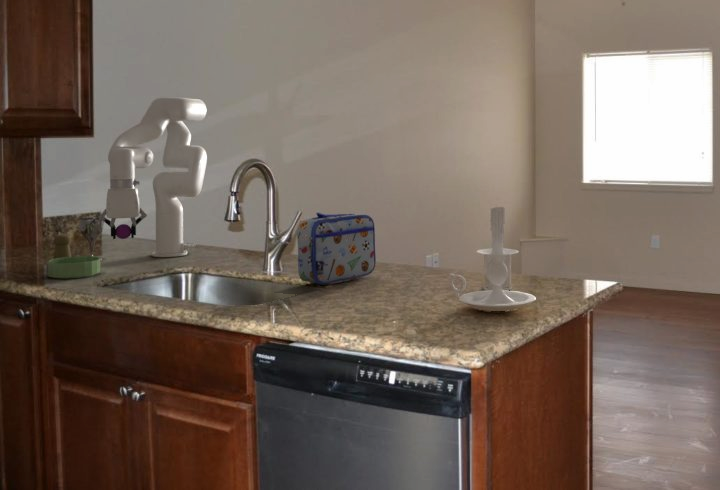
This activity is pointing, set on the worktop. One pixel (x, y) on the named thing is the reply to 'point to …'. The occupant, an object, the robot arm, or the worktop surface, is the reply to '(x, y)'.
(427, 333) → the worktop surface
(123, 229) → the ball
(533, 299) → the candlestick
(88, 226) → the wine glass
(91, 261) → the bowl
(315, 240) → the lunch box
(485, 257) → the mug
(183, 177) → the robot arm
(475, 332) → the worktop surface
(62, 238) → the cork
